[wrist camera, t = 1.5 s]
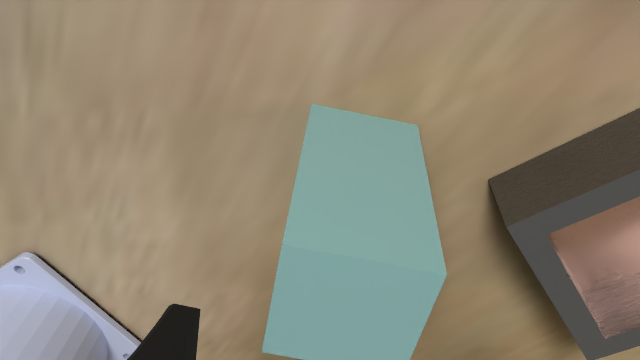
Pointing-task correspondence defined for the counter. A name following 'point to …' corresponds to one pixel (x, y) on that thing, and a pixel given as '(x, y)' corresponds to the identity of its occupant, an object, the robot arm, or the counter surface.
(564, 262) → the socket
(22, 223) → the counter surface
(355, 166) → the peg
